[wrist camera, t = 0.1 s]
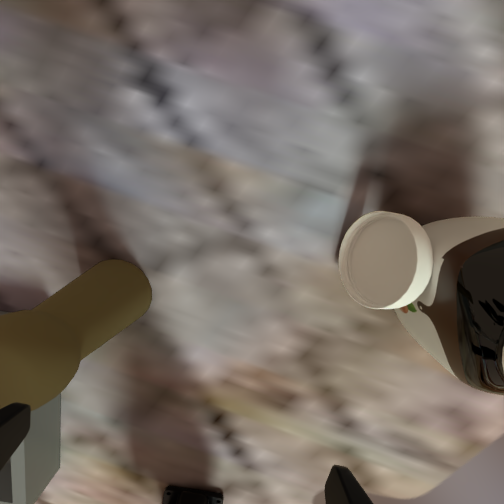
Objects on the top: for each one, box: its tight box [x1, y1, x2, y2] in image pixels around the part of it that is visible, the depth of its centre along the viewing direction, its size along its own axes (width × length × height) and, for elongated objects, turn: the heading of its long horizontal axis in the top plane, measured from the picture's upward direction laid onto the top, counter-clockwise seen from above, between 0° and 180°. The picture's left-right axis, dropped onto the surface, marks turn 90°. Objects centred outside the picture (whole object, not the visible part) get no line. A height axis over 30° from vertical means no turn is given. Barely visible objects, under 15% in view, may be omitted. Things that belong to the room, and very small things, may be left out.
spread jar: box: [338, 211, 504, 395], centre depth 15 cm, size 12×11×12 cm
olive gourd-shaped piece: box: [0, 259, 152, 411], centre depth 16 cm, size 6×6×11 cm
